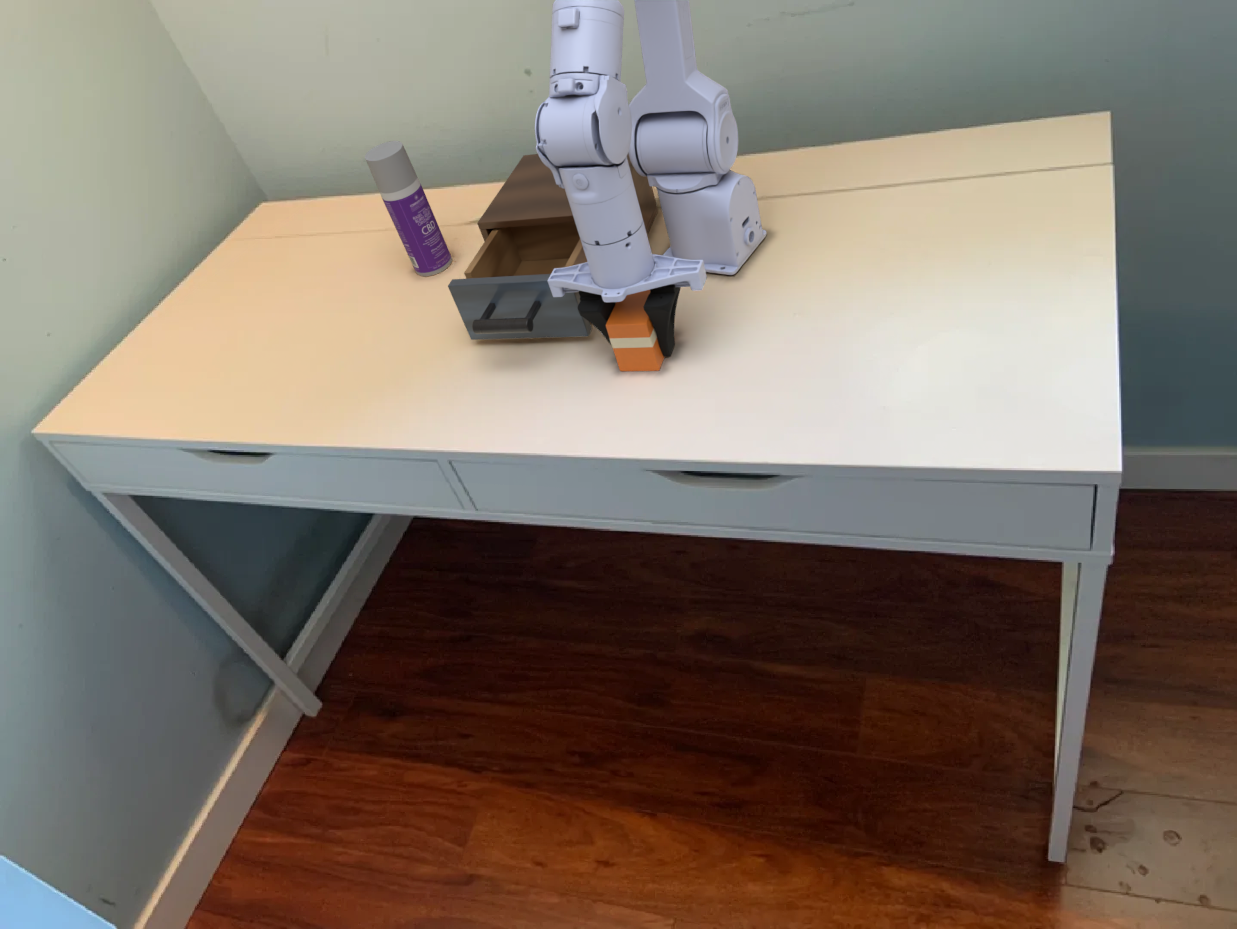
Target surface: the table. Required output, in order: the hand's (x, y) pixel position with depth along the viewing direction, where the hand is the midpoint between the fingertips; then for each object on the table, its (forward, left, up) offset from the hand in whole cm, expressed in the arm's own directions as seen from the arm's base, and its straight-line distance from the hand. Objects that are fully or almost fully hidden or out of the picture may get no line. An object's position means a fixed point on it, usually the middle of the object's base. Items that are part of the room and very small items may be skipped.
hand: (646, 350), depth 93 cm
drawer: (+14, -2, +1) cm, 14 cm away
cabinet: (+18, -15, 0) cm, 23 cm away
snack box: (0, 0, 0) cm, 0 cm away
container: (+36, -8, 0) cm, 37 cm away
